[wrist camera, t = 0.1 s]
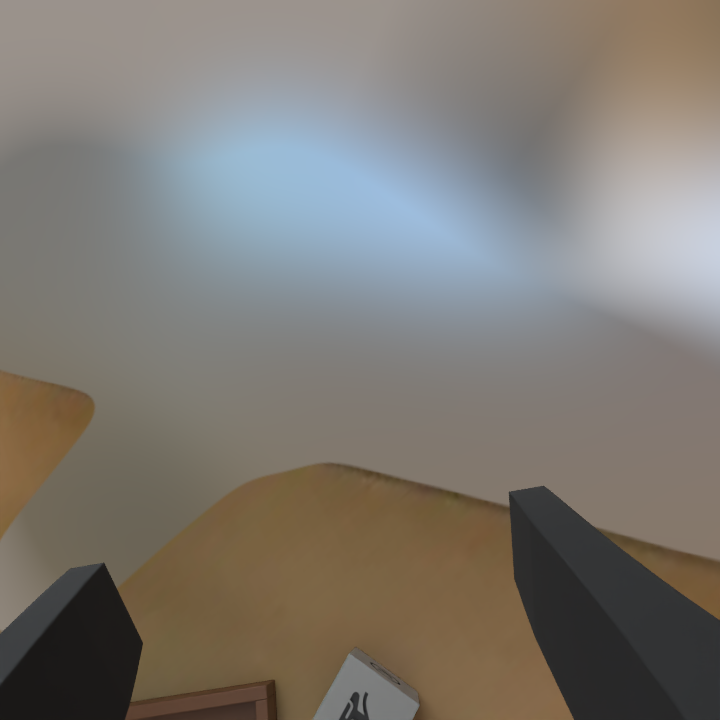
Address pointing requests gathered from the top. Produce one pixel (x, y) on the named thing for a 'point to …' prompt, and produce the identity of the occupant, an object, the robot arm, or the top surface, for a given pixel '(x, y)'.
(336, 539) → the top surface
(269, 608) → the top surface
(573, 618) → the robot arm
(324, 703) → the dice cube
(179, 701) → the tray
